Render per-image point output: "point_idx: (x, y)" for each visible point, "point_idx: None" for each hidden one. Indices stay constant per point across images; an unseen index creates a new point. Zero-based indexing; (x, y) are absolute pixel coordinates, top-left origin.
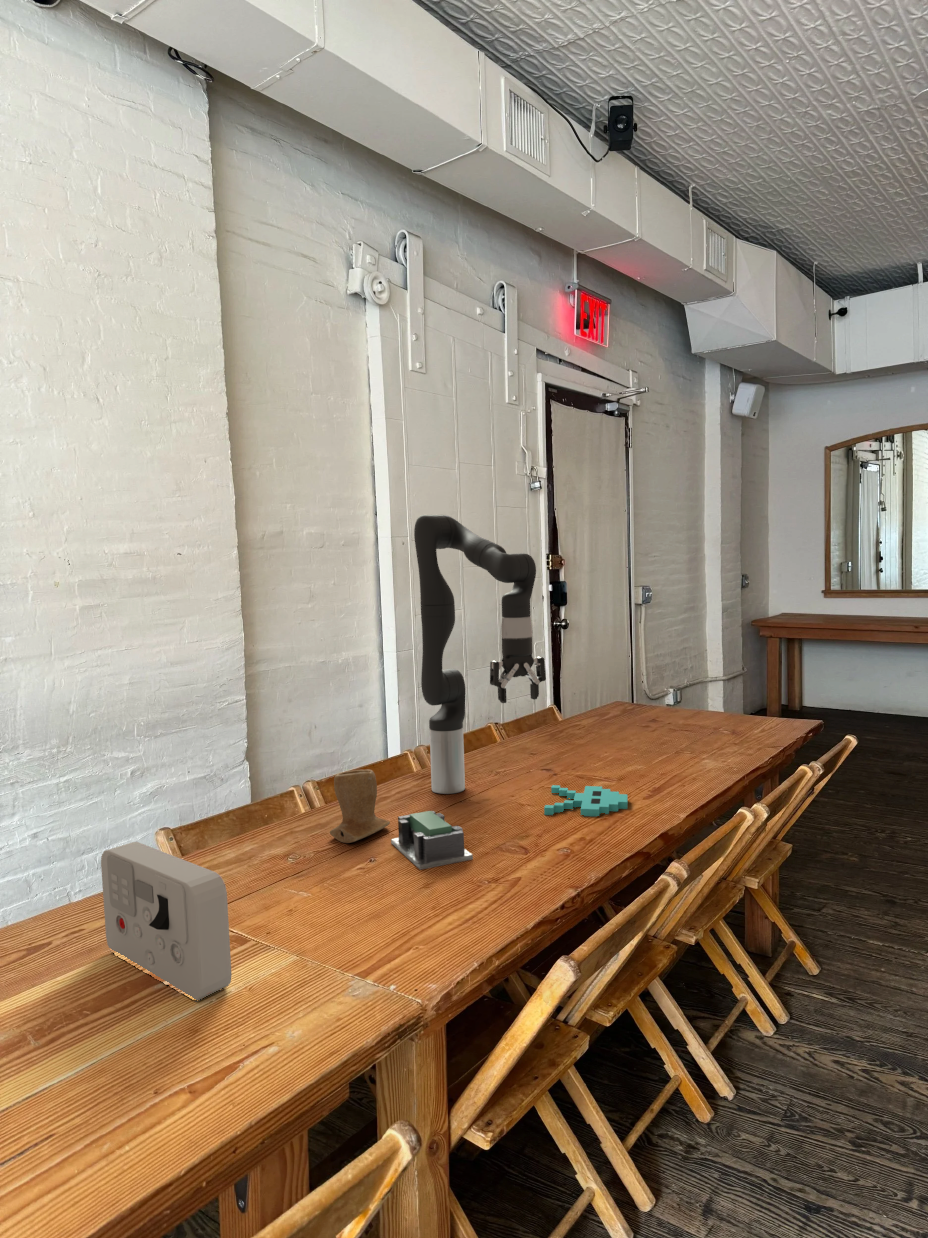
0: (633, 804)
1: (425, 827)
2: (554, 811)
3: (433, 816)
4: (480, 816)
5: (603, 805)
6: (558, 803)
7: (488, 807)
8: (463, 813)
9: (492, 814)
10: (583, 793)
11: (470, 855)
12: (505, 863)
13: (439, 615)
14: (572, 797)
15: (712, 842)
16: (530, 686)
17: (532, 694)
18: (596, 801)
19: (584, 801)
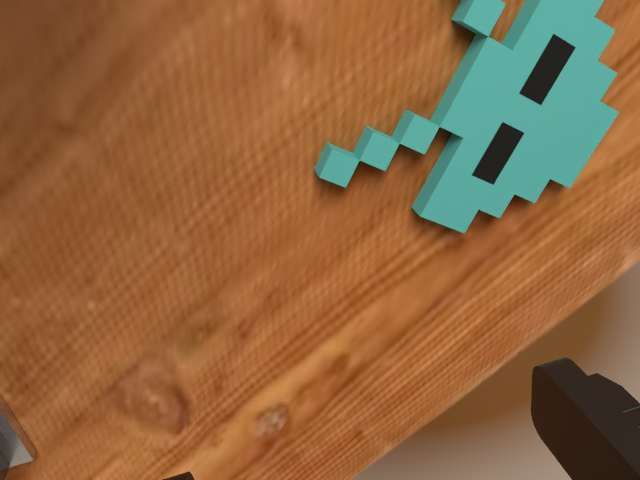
0: None
1: None
2: (354, 153)
3: None
4: (85, 124)
5: (494, 202)
6: (380, 145)
7: (131, 17)
8: (12, 65)
9: (135, 113)
10: (509, 54)
11: (27, 461)
12: (118, 472)
13: None
14: (471, 30)
15: None
16: (633, 473)
17: (563, 428)
18: (498, 158)
19: (466, 147)
